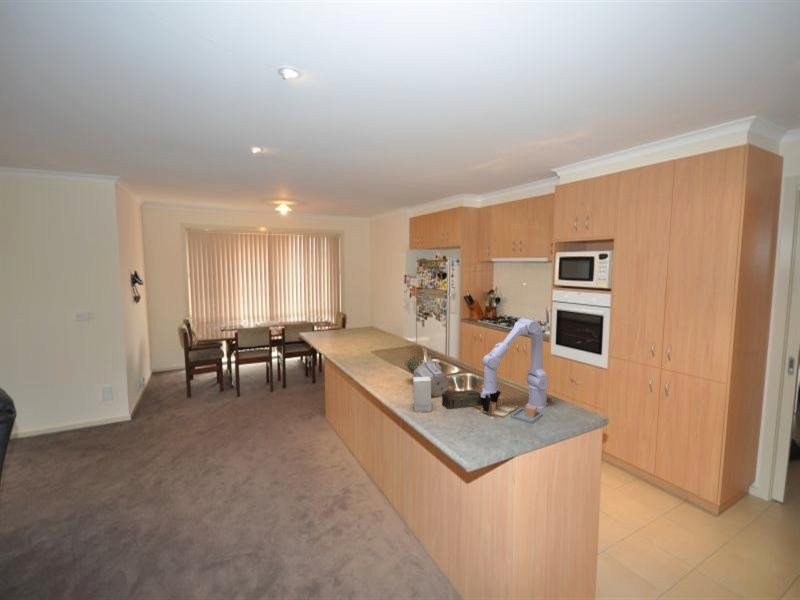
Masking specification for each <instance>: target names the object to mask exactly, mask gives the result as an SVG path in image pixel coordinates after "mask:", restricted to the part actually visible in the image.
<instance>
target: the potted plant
mask: <svg viewBox="0 0 800 600" xmlns="http://www.w3.org/2000/svg"><path fill="white" fill-rule="evenodd" d="M406 366H407V368H408V370H409V372H411V373H412V375H413V376H412V378H413V377H430V379H431V398H438V397H442V394H443V393H447V391H448V389H449V385H450V380H449V378H448V377H447V376H446V374H445V373H444V372H443V371H442V370H443V368H442V366H441V365H440V364H439V362H437V361H436V360H428V361H422V359H421V358H419V357H415V356H412V357H410V358H409V359H408V360H407V363H406Z"/></svg>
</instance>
